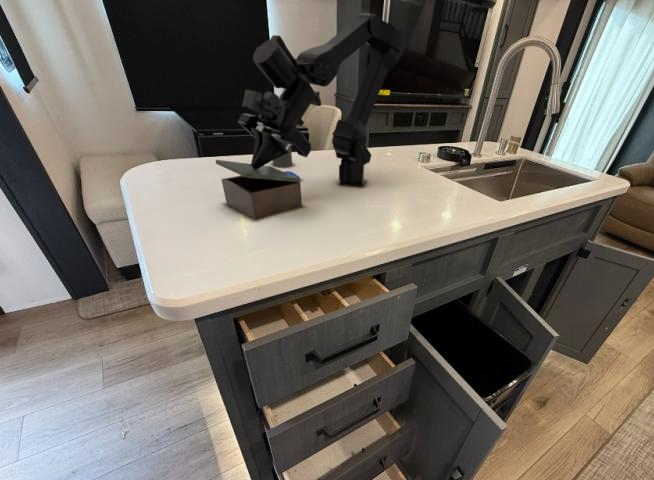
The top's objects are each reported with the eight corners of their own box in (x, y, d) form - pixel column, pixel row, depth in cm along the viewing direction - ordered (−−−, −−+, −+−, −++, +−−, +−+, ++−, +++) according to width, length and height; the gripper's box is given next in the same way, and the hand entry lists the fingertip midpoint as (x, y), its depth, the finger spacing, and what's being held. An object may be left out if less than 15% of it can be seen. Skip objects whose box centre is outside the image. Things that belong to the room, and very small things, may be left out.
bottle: (289, 168, 100) (285, 112, 91) (270, 166, 99) (264, 110, 90) (294, 163, 104) (290, 110, 95) (276, 161, 104) (270, 108, 95)
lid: (245, 177, 62) (245, 173, 62) (215, 163, 68) (215, 159, 67) (300, 182, 73) (300, 178, 72) (270, 169, 78) (270, 166, 78)
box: (255, 220, 68) (250, 193, 65) (226, 204, 73) (221, 178, 70) (302, 206, 76) (300, 182, 73) (273, 193, 81) (270, 169, 78)
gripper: (238, 68, 66) (198, 131, 66) (295, 78, 58) (249, 152, 57) (275, 110, 76) (240, 166, 76) (328, 125, 67) (290, 188, 67)
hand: (253, 167), depth 69 cm, fingers closed, pressing on lid
